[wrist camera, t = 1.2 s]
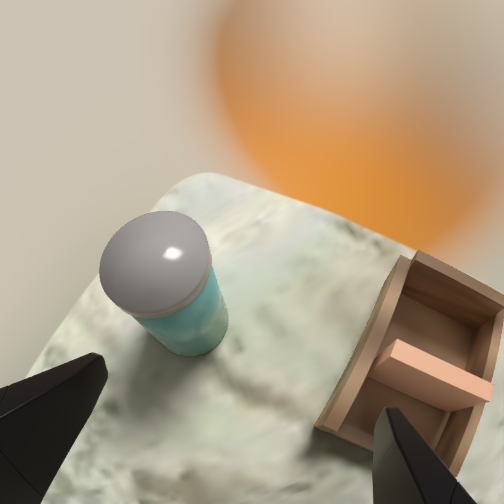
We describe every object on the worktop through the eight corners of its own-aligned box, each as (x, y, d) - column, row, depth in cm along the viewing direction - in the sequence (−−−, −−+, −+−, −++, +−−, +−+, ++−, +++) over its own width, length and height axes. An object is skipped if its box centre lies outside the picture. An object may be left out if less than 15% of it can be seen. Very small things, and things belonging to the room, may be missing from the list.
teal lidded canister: (166, 370, 23) (108, 328, 15) (145, 300, 27) (94, 235, 18) (243, 340, 24) (226, 283, 16) (214, 273, 28) (189, 196, 19)
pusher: (448, 412, 18) (489, 401, 13) (364, 375, 21) (389, 356, 16) (452, 398, 18) (494, 384, 14) (370, 361, 21) (397, 338, 16)
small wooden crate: (428, 473, 16) (468, 477, 11) (313, 426, 20) (327, 424, 15) (478, 329, 22) (514, 301, 17) (384, 281, 26) (406, 244, 21)
